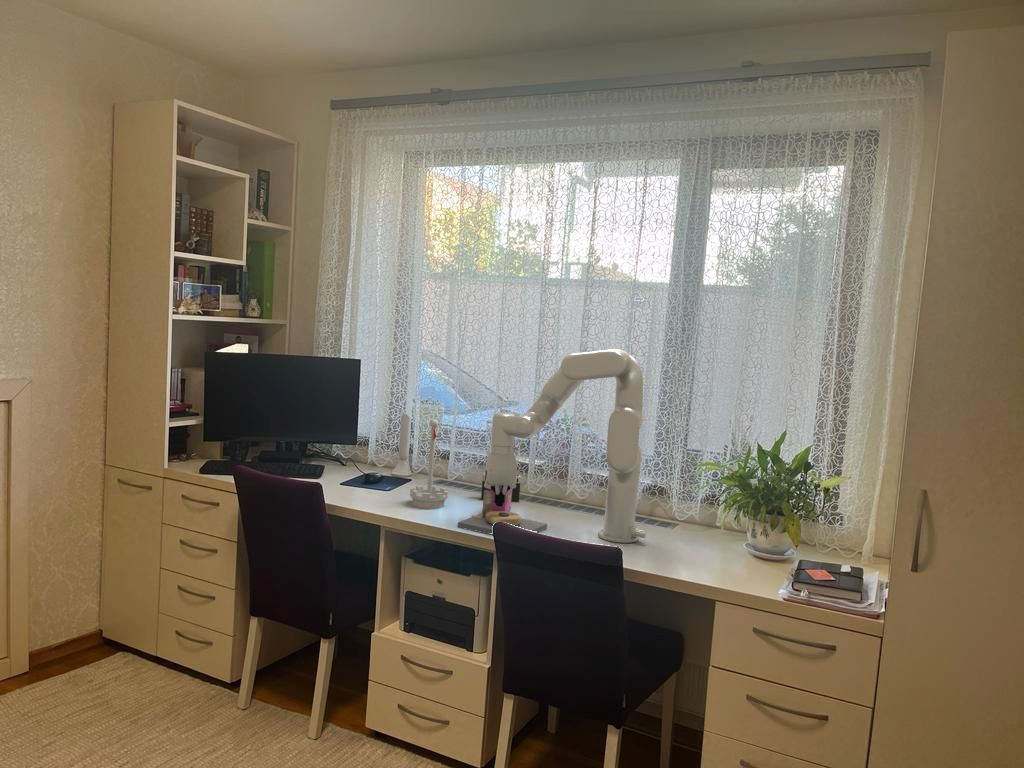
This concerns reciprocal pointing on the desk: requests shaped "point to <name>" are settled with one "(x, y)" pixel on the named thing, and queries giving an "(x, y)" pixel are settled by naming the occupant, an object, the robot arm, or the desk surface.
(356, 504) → the desk surface
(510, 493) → the box
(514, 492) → the camera
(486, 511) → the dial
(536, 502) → the desk surface
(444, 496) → the flag stand
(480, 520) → the board
